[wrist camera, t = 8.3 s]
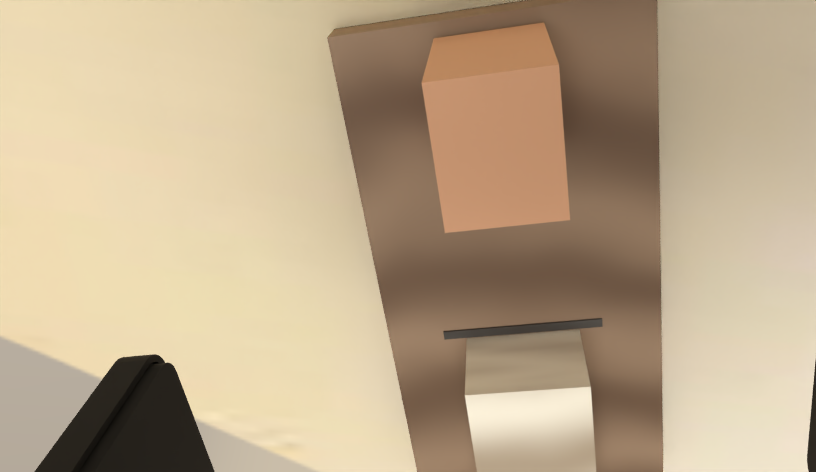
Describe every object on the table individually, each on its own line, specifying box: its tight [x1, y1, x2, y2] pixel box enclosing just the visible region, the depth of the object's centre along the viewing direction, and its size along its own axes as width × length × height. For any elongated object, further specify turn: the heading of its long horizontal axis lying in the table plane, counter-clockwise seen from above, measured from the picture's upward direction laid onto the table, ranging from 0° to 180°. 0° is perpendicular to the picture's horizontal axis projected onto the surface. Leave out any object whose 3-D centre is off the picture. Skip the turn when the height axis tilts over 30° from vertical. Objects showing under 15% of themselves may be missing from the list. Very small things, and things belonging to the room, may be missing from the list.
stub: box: [422, 22, 570, 233], centre depth 25 cm, size 5×4×6 cm
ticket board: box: [327, 0, 663, 472], centre depth 31 cm, size 24×12×6 cm, turn 9°
